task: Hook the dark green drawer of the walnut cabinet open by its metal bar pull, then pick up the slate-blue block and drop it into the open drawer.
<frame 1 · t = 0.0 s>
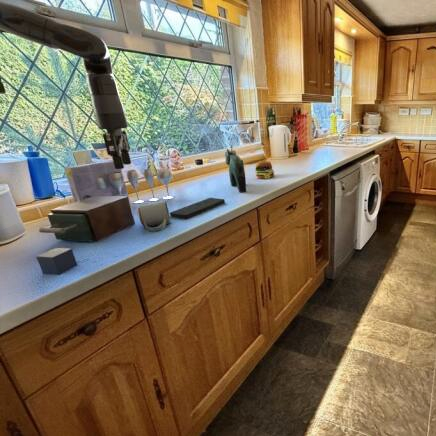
hand: (123, 166, 95), 19 cm above the countertop, tool pointing down, fingers open, 8 cm apart
dark green animal figure: (239, 188, 144), on the countertop
drawer: (82, 222, 90), point 5 cm above the countertop, slide at 0.5 cm
goblet set: (139, 202, 127), on the countertop, touching cake pan box
cheeseburger: (265, 177, 166), on the countertop
cabinet: (100, 231, 96), on the countertop
smart home device: (199, 210, 114), on the countertop
block: (60, 269, 73), on the countertop
ceramic mug: (158, 226, 99), on the countertop
cake pan box: (106, 207, 122), on the countertop, touching goblet set
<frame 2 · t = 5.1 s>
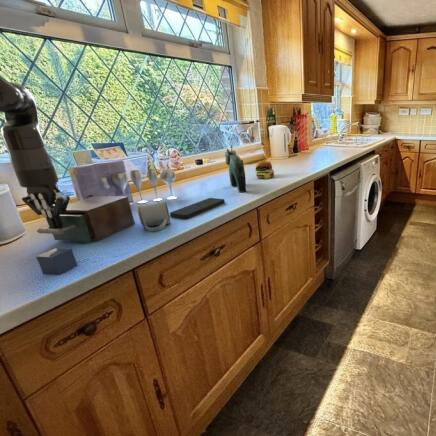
hand: (57, 229, 83), 6 cm above the countertop, tool pointing down, fingers closed
drawer: (80, 223, 89), point 5 cm above the countertop, slide at 1.0 cm
goblet set: (143, 202, 126), on the countertop, touching cake pan box
cake pan box: (110, 207, 122), on the countertop, touching goblet set
everything else where it was.
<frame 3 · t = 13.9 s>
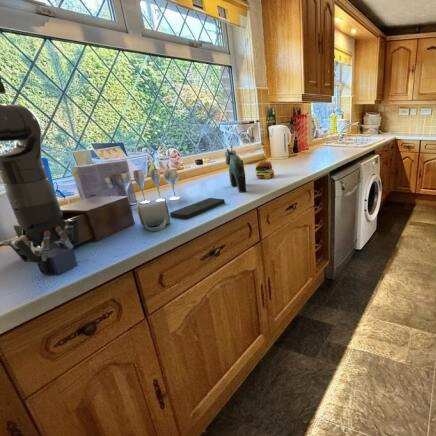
hand: (60, 268, 72), 0 cm above the countertop, tool pointing down, fingers closed on block, 4 cm apart
drawer: (53, 233, 82), point 5 cm above the countertop, slide at 9.0 cm
goblet set: (146, 202, 126), on the countertop, touching cake pan box
block: (60, 269, 73), on the countertop, touching gripper
cake pan box: (113, 207, 122), on the countertop, touching goblet set
everything else where it was.
when the fingers open (8 cm above the countertop, at t = 20.0 s): block drops 6 cm, resting on drawer.
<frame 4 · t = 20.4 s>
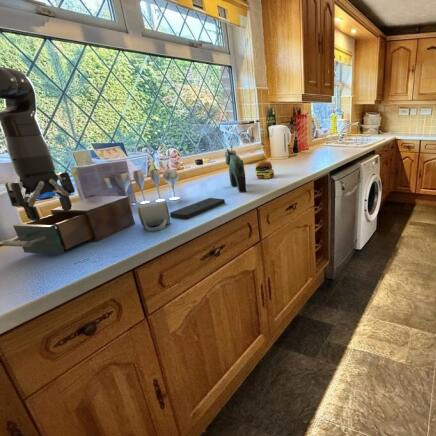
hand: (52, 214, 82), 10 cm above the countertop, tool pointing down, fingers open, 8 cm apart
drawer: (53, 233, 82), point 5 cm above the countertop, slide at 9.0 cm, touching block
goblet set: (145, 202, 125), on the countertop, touching cake pan box
block: (62, 240, 84), point 2 cm above the countertop, touching drawer
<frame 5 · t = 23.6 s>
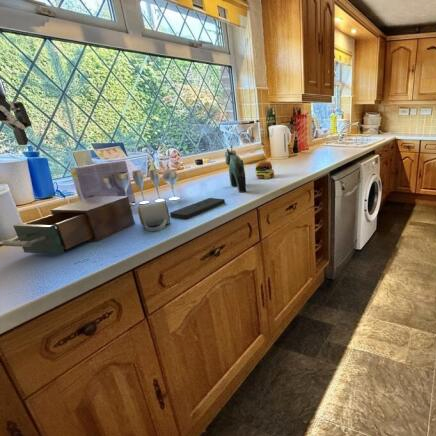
hand: (3, 147, 74), 28 cm above the countertop, tool pointing down, fingers open, 8 cm apart
goblet set: (145, 203, 125), on the countertop, touching cake pan box
at the end: drawer slide at 9.0 cm; block inside the target area in the drawer (2.7 cm from its centre), point 2.0 cm above the cabinet's base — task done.
